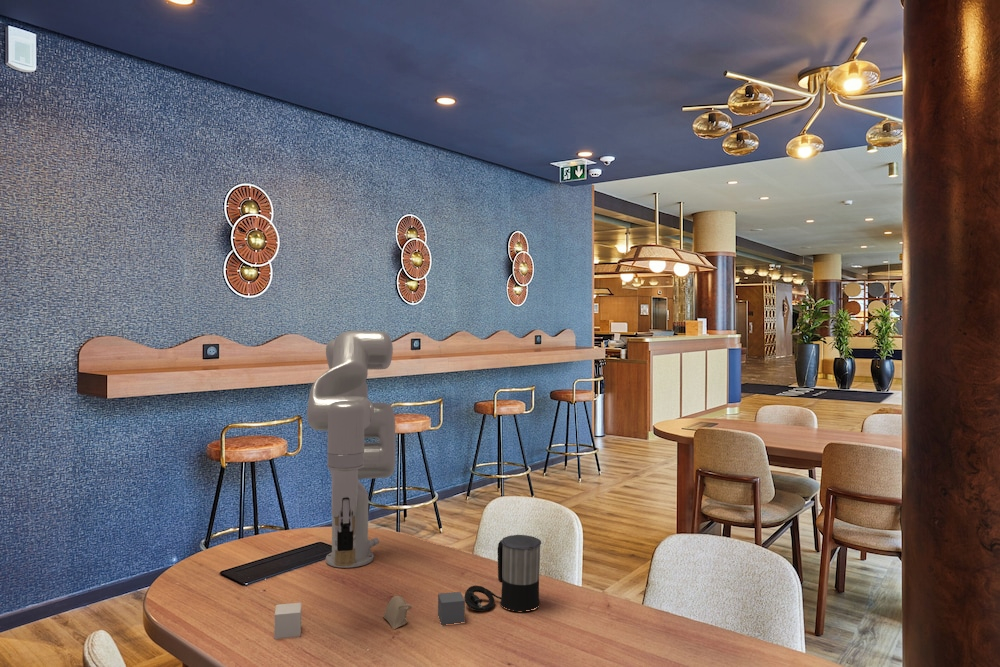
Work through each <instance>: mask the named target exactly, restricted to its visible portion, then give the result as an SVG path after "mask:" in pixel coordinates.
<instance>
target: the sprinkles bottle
mask: <svg viewBox="0 0 1000 667" xmlns="http://www.w3.org/2000/svg"><path fill="white" fill-rule="evenodd" d="M342 506H343V499H342ZM341 516H343V514H341ZM349 516H350V513H349ZM342 521H343V520H341V522H342ZM349 521H350V519H349ZM352 530H353V550H349V551H338V550H337V531H339V515H338V517H335V539H334V540H335V561H334V564H335V565H337V566H341V567H344V566H350V565H353V564H354V563H355V562H356V559H355V546H356V543H355V516H354V517H353V516H352Z"/></svg>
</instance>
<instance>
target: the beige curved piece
mask: <svg viewBox="0 0 1000 667" xmlns="http://www.w3.org/2000/svg"><path fill="white" fill-rule="evenodd" d="M410 609H412V605H411V604H408V603H407V601H406V600H405V598H404V597H402V596H399V595H394V596H392V597H391V598H390V600H389V602H388V603H387V605H386V608H385V612H384V615H383V616H382V618H383V617H384V619H385V620H386V621H387V622H388V623H389V624H390V626H391V628H392V629H393V628H394V629H393V630H396V629H398V628H399V627H402V626H404V625H406V624H407V623H408V620H406V619H407V615H408V610H410ZM405 618H406V619H405Z"/></svg>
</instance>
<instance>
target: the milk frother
mask: <svg viewBox="0 0 1000 667" xmlns="http://www.w3.org/2000/svg"><path fill="white" fill-rule="evenodd" d="M541 545H542V540H540V539H539V538H538V537H535V536H532V535H526V534H513V535H508V536H504V537H502V539H501V540H500V541H499V542H498V544H497V579H498V582H499V583H501V596H498V595H497V594H496V593H494V592H492V591H491V590H489V589H488V588H485V587H484V586H481V585H472V586H469V587H468V588H467V589H466V591H465V592H464V596H463V598H464V600H465V605H467V607H469V609H471V610H473V611H480V612H485V611H488V610H491V609H493V607H494V605H495V598H496V599H499V600H500V601H499V604H501V605H502V606H503V607H505V608H507V609H510V610H514V611H526V610H531V609H534V608H536V607H538V606H539V602H540V565H541V564H540V560H541ZM475 593H481V594H483V595H485V596H486V597H487V599H488V603H487V604H484V605H482V602H483V599H481V598H480V597H479V596H478V595H476V594H475ZM501 605H500V606H501ZM502 606H501V607H502ZM503 607H502V608H503ZM539 607H540V606H539Z"/></svg>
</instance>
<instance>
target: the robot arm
mask: <svg viewBox="0 0 1000 667" xmlns="http://www.w3.org/2000/svg"><path fill="white" fill-rule="evenodd" d="M393 347H394V346H393V342H392V339H391V337H390V335H389V334H388V333H387V332H386V331H383V330H348V331H343V332H341V333H340V334H338V335H337V337H335V339H331V340H329V342H327V345H326V347H325V358H326V361H327V366H328V367H329V369H328V370H327V371H325V372H324V373H322V374H321V375H320V376H319V377H318V378H317V379H316V380H315V381H314V382H313V383H312V385H311V388H310V390H309V394H308V395H309V396H308V402H307V409H306V410H307V411H306V418H307V423H308V425H309V427H310V428H311V429H312V430H315V431H321V432H324V431H325V432H327V456H326V457H327V460H326V461H327V462H326V463H327V466H326V468H327V469H328V470H330V477H331V521H332V522H331V552H330V553H328V554H326V557H325V562H326V564H327V565H329V566H331V567H334V568H342V569H343V568H345V569H349V568H350V569H351V568H357V567H361V566H362V567H363V566H365V565H368V564H370V563H372V561H374V555H375V554H374V553H373V552H372V551H371V548H372V547H375V546H377V545H379V542H380V540H379V538H378V537H374V538H372V539H369V493H368V490H367V489H366V487H365V486H364V485H363V483H361V481H360V480H363V479H385V478H389V477H391V476H392V475H393V474H394V472H395V468H396V417H395V411H394V409H393V407H392V405H390V404H389V403H385V402H372V401H371V400H370V399H369V398H368V390H369V388H368V387H369V386H368V384H367V382H366V381H367V379H368V374H369V373H368V372H369V371H368V370H386V369H388V368H389V367H390V365H391V363H392V358H393V354H394V352H393V351H394V348H393ZM367 438H370V439H371V438H374V439H377V440H378V442H365V439H367ZM342 499H343V506H342ZM349 513H350V516H349ZM341 514H343V516H341ZM338 515H339V531H337V550H338V551H349V550H353V530H352V516H353V517H354V516H355V543H356V546H355V559H356V562H355V563H354V564H353V565H350V566H344V567H341V566H337V565H335V564H334V561H335V540H334V539H335V517H338ZM349 519H350V521H349ZM341 520H343V521H342V522H341Z"/></svg>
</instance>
